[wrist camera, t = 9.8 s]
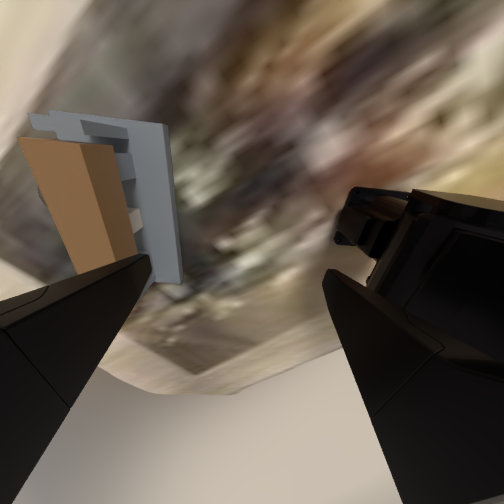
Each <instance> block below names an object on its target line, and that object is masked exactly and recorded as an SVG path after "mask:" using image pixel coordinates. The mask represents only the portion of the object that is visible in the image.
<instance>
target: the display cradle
mask: <svg viewBox="0 0 504 504" xmlns="http://www.w3.org/2000/svg"><path fill="white" fill-rule="evenodd" d="M48 111H49V114H50V116H48V115H40V114H32V113H28V116H29V118H30V121H31V123H32V126H33V128H34V129H39V130H47V131H56V134H57V137H58V140H69V141H78V142H87V143H95V144H104V145H113V149H114V153H115V157H116V162H117V166H118V170H119V175H120V179H121V183H122V187H123V192H124V196H125V200H126V204H127V209H128V213H129V217H130V222H131V226H132V230H133V234H134V239H135V243H136V247H137V251H138V254H139V253H142V254H148V255H149V256H150V261H151V266H152V272H151V275H150V277H149V279H148V281H147V283H146V285H145V287H144V290H143V292H142V294H141V296H140V298H139V299H138V301H137V303H138V302H139V300H140V299H141V298H142V296H143V295H144V294H145V292H146V291H147V290H148V288H149V287H150V286H151V284H152V283H153V282H162V283H175V284H181V282H182V280H183V269H182V259H181V249H180V239H179V229H178V219H177V209H176V199H175V189H174V180H173V170H172V160H171V150H170V140H169V130H168V126H167V125H164V124H159V123H150V122H142V121H134V120H126V119H118V118H110V117H102V116H94V115H86V114H77V113H69V112H61V111H53V110H48ZM137 303H136V304H137ZM136 304H135V306H136ZM135 306H134V307H135Z"/></svg>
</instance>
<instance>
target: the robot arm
mask: <svg viewBox="0 0 504 504" xmlns="http://www.w3.org/2000/svg"><path fill="white" fill-rule="evenodd" d="M356 190H358V192H357V193H356V194H355V191H356ZM407 196H408V198H407V199H406V197H407ZM338 239H340V240H339V241H337V240H338ZM334 242H335V243H336V244H338V245H349V246H357V247H358V248H359V249H361V250H362V251H363V252H364V253H365V254H366V255H367V256H368V257H370V258H373V259H374V260H375V261H376V262H377V263H376V265H375V267H374V269H373V271H372V273H371V274H370V276H368V278H367V280H366V284H367V285H366V287H365V286H363V285H362V284H360V283H358V282H356V281H355V280H353V279H351V278H350V277H348V276H346V275H344V274H343V273H341V272H339V271H337V270H335V269H328V270H327V271H326V273H325V276H324V279H323V281H322V287H323V291H324V295H325V299H326V302H327V306H328V310H329V313H330V316H331V318H332V321H333V323H334V326H335V329H336V331H337V334H338V336H339V339H340V342H341V344H342V347H343V349H344V352H345V354H346V357H347V360H348V362H349V365H350V368H351V370H352V373H353V375H354V378H355V381H356V383H357V385H358V388H359V391H360V393H361V396H362V399H363V401H364V404H365V406H366V409H367V411H368V414H369V417H370V418H371V422H372V425H373V427H374V430H375V433H376V435H377V438H378V441H379V443H380V446H381V448H382V451H383V454H384V456H385V459H386V461H387V464H388V466H389V469H390V471H391V474H392V477H393V479H394V482H395V485H396V487H397V490H398V492H399V495H400V498H401V500H402V503H403V504H504V201H500V200H495V199H489V198H483V197H478V196H472V195H464V194H455V193H446V192H437V191H428V190H419V189H413V190H412V192H411V193H409V192H403V191H393V190H384V189H375V188H366V187H354V188H353V189H352V190H351V192H350V195H349V198H348V201H347V203H346V206H345V207H344V208H343V211H342V214H341V217H340V219H339V222H338V225H337V232H336V234H335V237H334ZM151 272H152V266H151V261H150V256H149V255H148V254H142V253H139V254H136V255H133V256H130V257H127V258H125V259H122V260H119V261H116V262H113V263H110V264H107V265H105V266H102V267H99V268H96V269H93V270H90V271H87V272H85V273H82V274H79V275H76V276H73V277H70V278H68V279H65V280H62V281H59V282H56V283H53V284H51V285H50V286H49V285H47V286H45V287H42V288H39V289H36V290H33V291H30V292H27V293H24V294H21V295H18V296H15V297H12V298H9V299H6V300H3V301H0V504H12V503H13V501H14V500H15V498H16V496H17V495H18V493H19V491H20V490H21V488H22V487H23V485H24V483H25V482H26V480H27V479H28V477H29V475H30V474H31V472H32V471H33V469H34V467H35V466H36V464H37V463H38V461H39V459H40V457H41V456H42V454H43V453H44V451H45V450H46V448H47V446H48V445H49V443H50V442H51V440H52V438H53V437H54V435H55V434H56V432H57V430H58V429H59V427H60V426H61V424H62V422H63V421H64V419H65V417H66V416H67V414H68V413H69V411H70V408H71V407H72V406H73V404H74V403H75V401H76V399H77V398H78V396H79V394H80V393H81V391H82V390H83V388H84V387H85V385H86V383H87V382H88V380H89V379H90V377H91V375H92V374H93V372H94V370H95V369H96V367H97V366H98V364H99V362H100V361H101V359H102V358H103V356H104V354H105V353H106V351H107V350H108V348H109V346H110V345H111V343H112V342H113V340H114V338H115V337H116V335H117V333H118V332H119V330H120V329H121V327H122V325H123V324H124V322H125V321H126V319H127V317H128V316H129V314H130V313H131V311H132V309H133V308H134V306H135V304H136V303H137V301H138V299H139V298H140V296H141V294H142V292H143V290H144V287H145V285H146V283H147V281H148V279H149V277H150V275H151Z"/></svg>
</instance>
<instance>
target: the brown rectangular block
mask: <svg viewBox="0 0 504 504" xmlns="http://www.w3.org/2000/svg"><path fill="white" fill-rule="evenodd" d="M17 139H18V141H19V144H20V146H21V148H22V150H23V153H24V155H25V157H26V159H27V162H28V164H29V166H30V168H31V170H32V173H33V175H34V177H35V179H36V182H37V184H38V194H39V197H40V199H41V200H42V202H43V203H44V204H45V205H46V206H47V207H48V208H49V211H50V213H51V215H52V217H53V220H54V222H55V224H56V226H57V229H58V231H59V233H60V235H61V237H62V240H63V242H64V244H65V246H66V249H67V251H68V253H69V255H70V258H71V260H72V269H73V271H74V272H75V274H77V275H79V274H82V273H85V272H87V271H90V270H93V269H96V268H99V267H102V266H105V265H107V264H110V263H113V262H116V261H119V260H122V259H125V258H127V257H130V256H133V255H136V254H138V251H137V247H136V243H135V239H134V234H133V230H132V226H131V222H130V217H129V213H128V209H127V204H126V200H125V196H124V192H123V187H122V183H121V179H120V175H119V170H118V166H117V162H116V157H115V153H114V149H113V145H104V144H95V143H87V142H78V141H69V140H58V139H42V138H25V137H17Z"/></svg>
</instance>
